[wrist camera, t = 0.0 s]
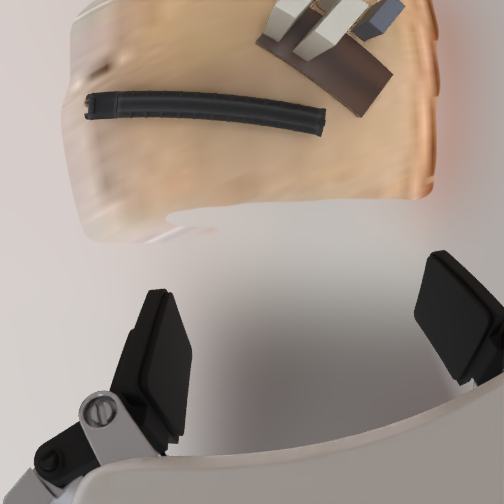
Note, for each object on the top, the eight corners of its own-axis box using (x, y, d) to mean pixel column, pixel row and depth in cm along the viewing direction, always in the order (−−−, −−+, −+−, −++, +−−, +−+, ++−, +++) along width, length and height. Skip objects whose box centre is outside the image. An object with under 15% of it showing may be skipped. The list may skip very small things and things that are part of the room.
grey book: (373, 5, 26) (392, -6, 20) (385, 15, 26) (405, 6, 21) (351, 30, 28) (368, 21, 23) (364, 41, 29) (383, 33, 24)
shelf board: (292, 0, 26) (294, -3, 25) (389, 74, 31) (393, 74, 30) (255, 43, 29) (256, 41, 28) (358, 117, 35) (361, 117, 34)
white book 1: (292, -1, 25) (312, -34, 16) (307, 9, 26) (333, -22, 16) (262, 33, 28) (273, 5, 18) (278, 42, 29) (295, 18, 19)
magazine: (366, 118, 27) (58, 90, 16) (360, 146, 28) (56, 128, 17) (293, 107, 40) (94, 95, 30) (290, 127, 42) (92, 117, 31)
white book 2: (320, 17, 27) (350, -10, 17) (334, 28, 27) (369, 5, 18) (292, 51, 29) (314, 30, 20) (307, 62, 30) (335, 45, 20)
